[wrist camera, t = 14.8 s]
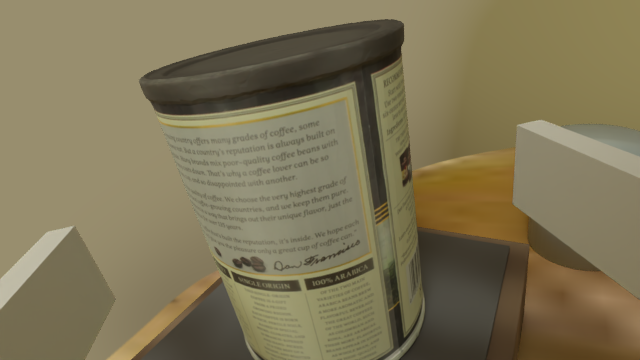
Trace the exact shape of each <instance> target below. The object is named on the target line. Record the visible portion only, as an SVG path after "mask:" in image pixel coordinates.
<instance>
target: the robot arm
mask: <svg viewBox="0 0 640 360" xmlns="http://www.w3.org/2000/svg"><path fill="white" fill-rule="evenodd" d="M513 205H515V206H516V207H517V208H519V209H520V210H521V211H523V212H524V213H525V214H527V215H528V216H529V217H531V218H532V219H533V220H535V221H536V222H537V223H539V224H540V225H541V226H543V227H544V228H545V229H546V230H548V231H549V232H550V233H552V234H553V235H554V236H556V237H557V238H558V239H560V240H561V241H562V242H564V243H565V244H566V245H568V246H569V247H570V248H572V249H573V250H574V251H576V252H577V253H578V254H580V255H581V256H582V257H584V258H585V259H586V260H588V261H589V262H590V263H592V264H593V265H594V266H596V267H597V268H598V269H600V270H601V271H602V272H604V273H605V274H606V275H608V276H609V277H610V278H611V279H613V280H614V281H615V282H617V283H618V284H619V285H621V286H622V287H623V288H625V289H626V290H627V291H629V292H630V293H631V294H633V295H634V296H635V297H637V298H638V299H639V300H640V157H639V156H637V155H634V154H631V153H629V152H626V151H623V150H621V149H618V148H615V147H613V146H610V145H607V144H605V143H602V142H599V141H597V140H594V139H591V138H589V137H586V136H583V135H581V134H578V133H575V132H573V131H570V130H567V129H565V128H562V127H559V126H557V125H554V124H551V123H549V122H546V121H543V120H537V121H533V122H529V123H525V124H520V125H517V135H516V153H515V171H514V188H513ZM115 300H116V299H115V296H114V295H113V293H112V291H111V289H110V288H109V286H108V284H107V282H106V280H105V279H104V277H103V275H102V273H101V272H100V270H99V268H98V266H97V264H96V263H95V261H94V259H93V257H92V256H91V254H90V252H89V250H88V248H87V247H86V245H85V243H84V241H83V240H82V238H81V236H80V234H79V232H78V231H77V229H76V227H75V226H72V227H67V228H63V229H58V230H54V231H49V232H47V233H46V234H45V235H44V236H43V237H42V238H41V239H40V240H39V241H38V242H37V243H36V244H35V245H34V246H33V247H32V248H31V249H30V250H29V251H28V252H27V253H26V254H25V255H24V256H23V257H22V258H21V259H20V260H19V261H18V262H17V263H16V264H15V265H14V266H13V267H12V268H11V269H10V270H9V271H8V272H7V273H6V274H5V275H4V276H3V277H2V278H1V279H0V360H85V358H86V357H87V354H88V353H89V351H90V349H91V347H92V345H93V343H94V341H95V339H96V337H97V335H98V333H99V331H100V329H101V327H102V325H103V323H104V321H105V320H106V318H107V316H108V314H109V312H110V310H111V308H112V306H113V304H114V302H115Z"/></svg>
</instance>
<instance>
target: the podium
mask: <svg viewBox="0 0 640 360" xmlns="http://www.w3.org/2000/svg"><path fill="white" fill-rule="evenodd" d="M417 233H418V243H419V256H420V269H421V281H422V289H423V293H424V298H425V314H424V320H423V323H422V327H421V329H420V332H419V336H418V337H417V338H416V340H415V341H414V343H413V344H412V346H411V347H410V348H409V350H408V351H407V352H406V353H405V354H404V355H403V356H402V357H401V358H400V359H399V360H517V358H518V351H519V344H520V336H521V329H522V322H523V315H524V305H525V293H526V281H527V269H528V258H529V246H530V245H529V244H523V243H517V242H510V241H504V240H498V239H491V238H485V237H479V236H472V235H466V234H460V233H453V232H447V231H441V230H434V229H428V228H422V227H417ZM131 360H255V359H254V358H253V357H252V355H251V353H250V351H249V349H248V347H247V345H246V342H245V338H244V333H243V330H242V327H241V325H240V323H239V320H238V318H237V315H236V313H235V310H234V308H233V305H232V303H231V300H230V298H229V295H228V293H227V290H226V288H225V285H224V283H223V280H222V278H221V277H220V278H219V279H218V280H217V281H216V282H215V283H214V284H213V285H212V286H210V287H209V288H208V289H207V290H206V291H205V292H204V293H203V294H202V295H201V296H200V297H199V298H197V299H196V300H195V301H194V302H193V303H192V304H191V305H190V306H189V307H188V308H187V309H186V310H184V311H183V312H182V313H181V314H180V315H179V316H178V317H177V318H176V319H175V320H174V321H173V322H171V323H170V324H169V325H168V326H167V327H166V328H165V329H164V330H163V331H162V332H161V333H160V334H158V335H157V336H156V337H155V338H154V339H153V340H152V341H151V342H150V343H149V344H148V345H147V346H146V347H144V348H143V349H142V350H141V351H140V352H139V353H138V354H137V355H136V356H135V357H134V358H133V359H131Z"/></svg>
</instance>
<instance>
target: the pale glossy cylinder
mask: <svg viewBox="0 0 640 360" xmlns="http://www.w3.org/2000/svg"><path fill="white" fill-rule="evenodd" d="M560 127H562V128H565V129H567V130H570V131H573V132H575V133H578V134H581V135H583V136H586V137H589V138H591V139H594V140H597V141H599V142H602V143H605V144H607V145H610V146H613V147H615V148H618V149H621V150H623V151H626V152H629V153H631V154H634V155H637V156H639V157H640V131H637V130H634V129H630V128H626V127H620V126H613V125H603V124H575V125H566V126H560ZM528 242H529V244H530V246H531V247H532V248H533V250H534V251H535V252H537V253H538V254H539V255H541V256H542V257H544V258H545V259H547V260H549V261H551V262H553V263H556V264H558V265H561V266H564V267H568V268H572V269H577V270H584V271H601V270H600V269H598V268H597V267H596V266H594V265H593V264H592V263H590V262H589V261H588V260H586V259H585V258H584V257H582V256H581V255H580V254H578V253H577V252H576V251H574V250H573V249H572V248H570V247H569V246H568V245H566V244H565V243H564V242H562V241H561V240H560V239H558V238H557V237H556V236H554V235H553V234H552V233H550V232H549V231H548V230H546V229H545V228H544V227H543V226H541V225H540V224H539V223H537V222H536V221H535V220H533V219H532V218H531V217H529V225H528Z"/></svg>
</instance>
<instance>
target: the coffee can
mask: <svg viewBox="0 0 640 360" xmlns="http://www.w3.org/2000/svg"><path fill="white" fill-rule="evenodd" d="M403 42H404V24H403V23H402V22H401V21H397V20H392V19H391V20H388V19H385V20H374V21H363V22H357V23H348V24H343V25H336V26H331V27H324V28H319V29H314V30H308V31H303V32H298V33H293V34H287V35H282V36H278V37H273V38H268V39H264V40H259V41H255V42H251V43H247V44H242V45H238V46H234V47H230V48H226V49H222V50H219V51H214V52H211V53H207V54H203V55H199V56H196V57H193V58H189V59H186V60H183V61H179V62H176V63H173V64H170V65H167V66H164V67H162V68H159V69H157V70H153V71H151V72H149V73H147V74H146V75H144V76H143V77H142V78H141V79H140V80H139V83H140V85H141V88H142V90H143V93H144V95H145V96H146V98H147V99H148V100H149V101H150V102H151V103H152V105H153V107H154V110H155V113H156V115H157V118H158V120H159V123H160V125H161V127H162V130H163V133H164V135H165V137H166V140H167V142H168V145H169V148H170V150H171V153H172V155H173V158H174V160H175V163H176V165H177V168H178V170H179V173H180V176H181V178H182V181H183V183H184V186H185V188H186V191H187V193H188V196H189V198H190V201H191V203H192V206H193V208H194V211H195V213H196V216H197V218H198V221H199V223H200V226H201V228H202V231H203V233H204V236H205V238H206V241H207V243H208V246H209V248H210V251H211V253H212V255H213V258H214V260H215V263H216V265H217V268H218V270H219V273H220V275H221V278H222V280H223V283H224V285H225V288H226V290H227V293H228V295H229V298H230V300H231V303H232V305H233V308H234V310H235V313H236V315H237V318H238V320H239V323H240V325H241V327H242V330H243V333H244V338H245V342H246V345H247V347H248V349H249V351H250V353H251V355H252V357H253V358H254V359H255V360H399V359H400V358H401V357H402V356H403V355H404V354H405V353H406V352H407V351H408V350H409V348H410V347H411V346H412V344H413V343H414V341H415V340H416V338H417V337H418V336H419V332H420V329H421V327H422V323H423V320H424V314H425V298H424V293H423V289H422V281H421V269H420V256H419V243H418V233H417V223H416V212H415V201H414V191H413V179H412V167H411V156H410V143H409V132H408V120H407V110H406V98H405V87H404V76H403V65H402V54H401V46H402V44H403Z"/></svg>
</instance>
